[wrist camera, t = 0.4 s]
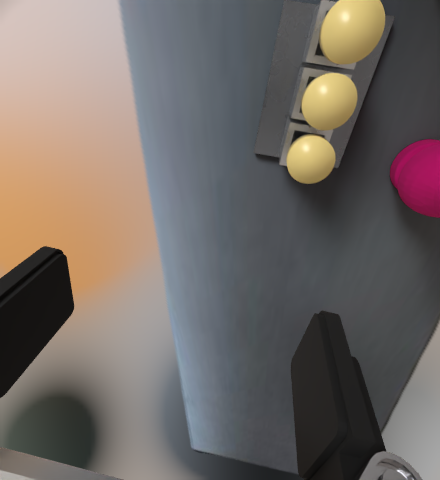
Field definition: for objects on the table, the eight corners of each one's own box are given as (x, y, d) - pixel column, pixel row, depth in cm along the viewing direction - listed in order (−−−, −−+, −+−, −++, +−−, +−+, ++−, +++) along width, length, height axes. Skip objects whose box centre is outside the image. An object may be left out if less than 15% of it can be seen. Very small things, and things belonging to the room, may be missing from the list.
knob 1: (320, 3, 23) (333, -14, 18) (370, 10, 23) (396, -5, 18) (306, 60, 25) (314, 59, 20) (350, 68, 25) (369, 68, 20)
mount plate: (283, 1, 26) (286, -11, 22) (391, 17, 26) (414, 8, 22) (253, 150, 34) (251, 162, 30) (336, 165, 33) (345, 179, 29)
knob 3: (290, 122, 28) (294, 133, 23) (330, 129, 28) (342, 142, 23) (280, 161, 30) (281, 179, 25) (317, 168, 30) (326, 187, 25)
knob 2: (304, 68, 25) (311, 69, 21) (348, 75, 25) (366, 78, 20) (291, 116, 27) (296, 125, 23) (332, 122, 27) (345, 134, 23)
